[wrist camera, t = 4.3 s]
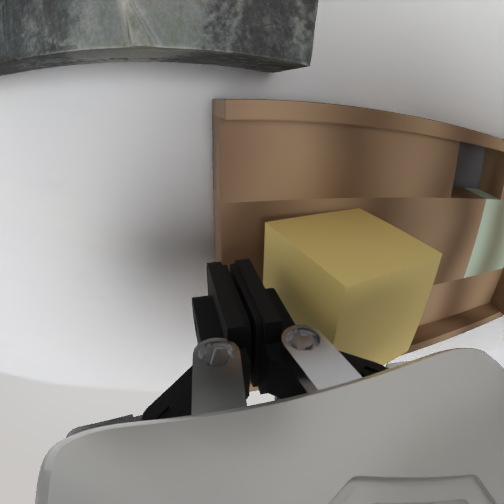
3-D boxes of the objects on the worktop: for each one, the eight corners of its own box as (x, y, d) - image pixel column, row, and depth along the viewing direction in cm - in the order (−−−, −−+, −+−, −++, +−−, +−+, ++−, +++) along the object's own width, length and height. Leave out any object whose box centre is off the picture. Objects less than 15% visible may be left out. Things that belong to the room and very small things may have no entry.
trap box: (515, 143, 18) (556, 159, 14) (475, 292, 25) (505, 318, 21) (212, 99, 13) (228, 99, 9) (219, 346, 20) (232, 401, 16)
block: (359, 208, 15) (442, 253, 10) (344, 295, 17) (407, 351, 13) (265, 222, 13) (345, 287, 9) (261, 321, 15) (319, 396, 11)
